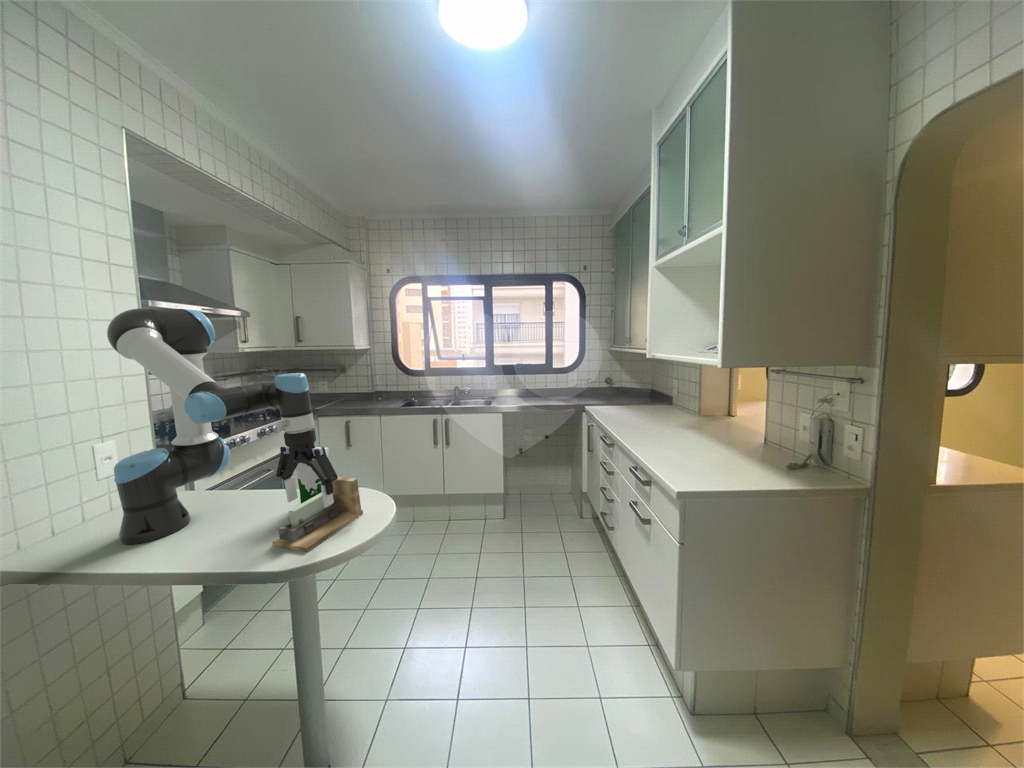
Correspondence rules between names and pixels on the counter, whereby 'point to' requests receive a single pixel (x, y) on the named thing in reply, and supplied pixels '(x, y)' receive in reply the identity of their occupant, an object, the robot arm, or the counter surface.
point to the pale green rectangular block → (306, 510)
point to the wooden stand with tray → (324, 519)
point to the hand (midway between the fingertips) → (310, 502)
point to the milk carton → (308, 481)
